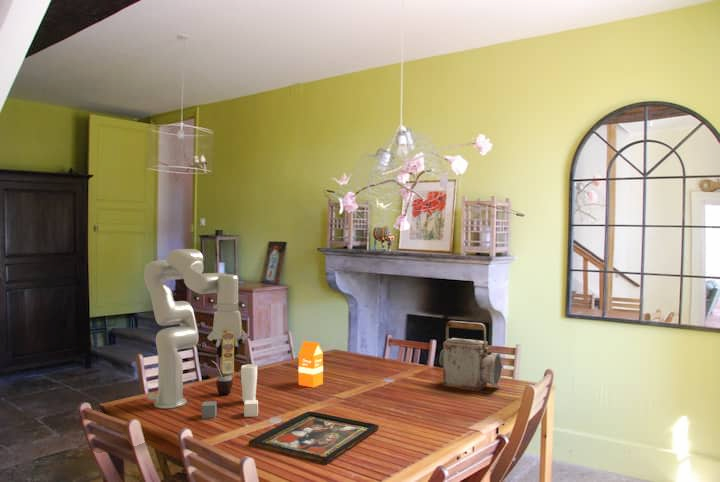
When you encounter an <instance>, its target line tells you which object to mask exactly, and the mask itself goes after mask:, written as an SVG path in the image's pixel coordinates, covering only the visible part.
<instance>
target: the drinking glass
mask: <svg viewBox="0 0 720 482" xmlns="http://www.w3.org/2000/svg"><path fill="white" fill-rule="evenodd" d="M240 379H241V381H240V382H241V393H242V402H243V403H245V400H257V398H256V396H257V382H258V365H257V364H253V363H252V364H251V363H250V364H249V363H248V364H243V365H241V367H240Z"/></svg>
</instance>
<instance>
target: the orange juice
mask: <svg viewBox="0 0 720 482" xmlns="http://www.w3.org/2000/svg"><path fill="white" fill-rule="evenodd" d="M323 358H324V353H323V351H322V348H321V346H320V344H319V342H313V341H306V340H304V341H303V342H302V345H301V348H300V351H299V353H298V385H299V386H304V387H310V388H316V387H318V386H320V385H323V384H324V359H323Z"/></svg>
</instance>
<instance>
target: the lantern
mask: <svg viewBox="0 0 720 482" xmlns="http://www.w3.org/2000/svg"><path fill="white" fill-rule="evenodd" d="M449 328H454V329H455V328H456V329H466V330H476V331H477V330H478V331H483V340H478V339H468V338H467V339H466V338H457V337H452V338H449ZM488 343H489V342H488V341H487V328H486V325H485V324H484V323H481V322H474V321H473V322H471V321H470V322H469V321H461V320H460V321H457V320H449V321H447V323H446V326H445V341H443V343H442V344H443V345H442V346H443V347H442V348H443V349H442V350H441V351H440V354H439V359H438V361H439V365H440V367H442V368H443V371H442V372H443V373H442V375H443V377H442V379H443V380H442V383H443V385H442V386H443V387H448V388H455V389H460V390H467V391H473V392H474V391H475V392H481V391H482V390H483V389H485V388H486V387H487V386H488V384H489V385H491V386H492V387H499V385H500V382H501V378H502V372H503V371H502V369H503V363H502V362H503V361H502V357H501V354H500V353H499V352H494V353H491V354H488V353H489V350H490V348H489V347H488V346H489V345H488Z"/></svg>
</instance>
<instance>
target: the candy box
mask: <svg viewBox="0 0 720 482" xmlns="http://www.w3.org/2000/svg"><path fill="white" fill-rule="evenodd" d="M220 344H221V357H220V358H221V359H220V362H221V364H220V365H221V374H222V375H230V374H234V372H235V357H234V345H235V343H234V331H224V332H223V339H221V343H220Z"/></svg>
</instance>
